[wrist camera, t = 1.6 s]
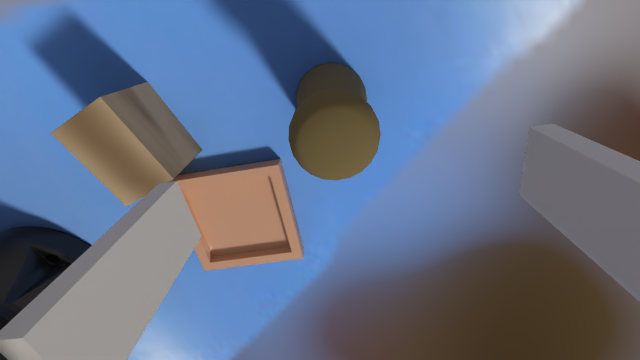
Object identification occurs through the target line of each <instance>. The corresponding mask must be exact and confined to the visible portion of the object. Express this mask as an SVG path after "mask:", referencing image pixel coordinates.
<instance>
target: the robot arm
mask: <svg viewBox="0 0 640 360" xmlns="http://www.w3.org/2000/svg"><path fill="white" fill-rule="evenodd" d="M519 195H520V196H521V197H522V198H523V199H525V200H526V201H527V202H528V203H529V204H530V205H531V206H532V207H534V208H535V209H536V210H537V211H538V212H539V213H540V214H541V215H543V216H544V217H545V218H546V219H547V220H548V221H549V222H551V223H552V224H553V225H554V226H555V227H556V228H557V229H558V230H559V231H561V232H562V233H563V234H564V235H565V236H566V237H567V238H569V239H570V240H571V241H572V242H573V243H574V244H575V245H576V246H577V247H579V248H580V249H581V250H582V251H583V252H584V253H586V254H587V255H588V256H589V257H590V258H591V259H593V261H594V262H596V263H597V264H598V265H599V266H600V267H601V268H602V269H604V270H605V271H606V272H607V273H608V274H609V275H610V276H611V277H612V278H614V279H615V280H616V281H617V282H618V283H619V284H620V285H621V286H623V287H624V288H625V289H626V290H627V291H628V292H629V293H631V294H632V295H633V296H634V297H635V298H636V299H637V300H638V301H640V161H638V160H635V159H633V158H631V157H628V156H626V155H624V154H621V153H619V152H617V151H614V150H612V149H610V148H607V147H605V146H603V145H601V144H598V143H596V142H594V141H592V140H589V139H587V138H585V137H582V136H580V135H578V134H576V133H573V132H571V131H569V130H566V129H564V128H562V127H559V126H557V125H555V124H546V125H540V126H533V127H529V132H528V138H527V146H526V152H525V159H524V165H523V172H522V179H521V185H520V192H519ZM200 238H201V234H200V232H199V230H198V227H197V225H196V223H195V221H194V218H193V216H192V214H191V212H190V210H189V207H188V205H187V203H186V201H185V198H184V196H183V194H182V192H181V189H180V187H179V185H178V183H177V181H173V182H166V183H160V184H158V185H157V186H156V187H154V188H153V189H152V190H151V191H150V192H149V193H148V194H147V195H146V196H145V197H144V198H143V199H142V200H140V201H139V202H138V203H137V204H136V205H135V206H134V207H133V208H132V209H131V210H130V211H129V212H128V213H126V214H125V215H124V216H123V217H122V218H121V219H120V220H119V221H118V222H117V223H116V224H115V225H113V226H112V227H111V228H110V229H109V230H108V231H107V232H106V233H105V234H104V235H103V236H102V237H101V238H99V239H98V240H97V241H96V242H95V243H94V244H93V245H92V246H89V245H88V244H86V243H84V242H82V241H80V240H78V239H76V238H74V237H72V236H70V235H67V234H64V233H61V232H58V231H55V230H51V229H46V228H39V227H19V228H13V229H9V230H6V231H4V232H2V233H0V360H127V358H128V357H129V355H130V353H131V352H132V350H133V349H134V347H135V345H136V344H137V342H138V340H139V339H140V337H141V335H142V334H143V332H144V330H145V329H146V327H147V325H148V324H149V322H150V320H151V319H152V317H153V316H154V314H155V312H156V311H157V309H158V307H159V306H160V304H161V302H162V301H163V299H164V297H165V296H166V294H167V292H168V291H169V289H170V287H171V286H172V284H173V282H174V281H175V279H176V278H177V276H178V274H179V273H180V271H181V269H182V268H183V266H184V264H185V263H186V261H187V259H188V258H189V256H190V254H191V253H192V251H193V249H194V248H195V246H196V245H197V243H198V241H199V240H200Z"/></svg>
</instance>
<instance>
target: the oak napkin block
mask: <svg viewBox="0 0 640 360" xmlns="http://www.w3.org/2000/svg"><path fill="white" fill-rule="evenodd" d="M51 134H52V135H53V136H54V137H55V138H56V139H57V140H58V141H60V142H61V143H62V144H63V145H64V146H65V147H66V148H67V149H68V150H69V151H70V152H71V153H72V154H73V155H74V156H75V157H76V158H77V159H78V160H79V161H80V162H81V163H82V164H83V165H84V166H85V167H86V168H87V169H88V170H89V171H90V172H91V173H92V174H93V175H94V176H95V177H96V178H97V179H98V180H99V181H101V182H102V183H103V184H104V185H105V186H106V187H107V188H108V189H109V190H110V191H111V192H112V193H113V194H114V195H115V196H116V197H117V198H118V199H119V200H120V201H121V202H122V203H123V204H124V205H125V206H126V207H127V206H129V205H130V204H132V203H134V202H135V201H137V200H139V199H140V198H142V197H144V196H146V195H147V194H148V193H149V192H150V191H151V190H152V189H153V188H154V187H156V186H157V185H158V184H160V183H166V182H169V181H171V180H173V179H174V178H175V177H176V176H177V175H178V174H179V173H180V172H181V171H182V170H183V169H184V168H185V167H186V166H187V165H188V164H189V163H190V162H191V161H192V160H193V159H194V158H195V157H196V156H197V155H198V154H199V153H200V152H201V151H202V149H201V147H200V146H199V145H198V144H197V142H196V141H195V140H194V139H193V137H192V136H191V135H190V134H189V133H188V131H187V130H186V129H185V128H184V126H183V125H182V124H181V123H180V121H179V120H178V119H177V118H176V116H175V115H174V114H173V113H172V111H171V110H170V109H169V108H168V106H167V105H166V104H165V103H164V101H163V100H162V99H161V98H160V97H159V95H158V94H157V93H156V92H155V90H154V89H153V88H152V87H151V85H150V84H149V83H148V82H145V83H142V84H139V85H136V86H133V87H129V88H126V89H123V90H120V91H117V92H113V93H110V94H107V95H104V96H101V97H99V98H98V99H96V100H95V101H93V102H92V103H91V104H89V105H88V106H87V107H85V108H84V109H83V110H81V111H80V112H79V113H77V114H76V115H74V116H73V117H72V118H70V119H69V120H68V121H66V122H65V123H64V124H62V125H61V126H59V127H58V128H57V129H55V130H54V131H53V132H51Z"/></svg>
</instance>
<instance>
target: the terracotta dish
mask: <svg viewBox="0 0 640 360" xmlns="http://www.w3.org/2000/svg"><path fill="white" fill-rule="evenodd" d="M173 181H177V183H178V185H179V187H180V189H181V192H182V194H183V196H184V198H185V201H186V203H187V205H188V207H189V210H190V212H191V214H192V216H193V218H194V221H195V223H196V225H197V227H198V230H199V232H200V234H201V238H200V240H199V241H198V243H197V245H196V246H195V248H194V249H195V252H196V254H197V256H198V258H199V260H200V262H201V264H202V266H203V268H204V271H207V270H214V269H222V268H230V267H238V266H246V265H254V264H261V263H269V262H277V261H285V260H293V259H301V258H303V254H304V248H303V244H302V240H301V236H300V232H299V228H298V225H297V221H296V217H295V213H294V209H293V205H292V201H291V197H290V193H289V190H288V186H287V182H286V178H285V174H284V170H283V166H282V162H281V159H275V160H269V161H263V162H256V163H250V164H244V165H238V166H231V167H225V168H219V169H213V170H206V171H200V172H194V173H188V174H181V175H177V176H176V177H175V178H174V179H173V180H171V181H169V182H173Z"/></svg>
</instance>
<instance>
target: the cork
mask: <svg viewBox="0 0 640 360" xmlns="http://www.w3.org/2000/svg"><path fill="white" fill-rule="evenodd" d="M296 107H297V109H296V110H295V113H294V115H293V118H292V120H291V123H290V126H289V143H290V146H291V150H292V153H293V156H294V157H295V159H296V160H297V161H298V163H299V164H300V166H301V167H302V168H303V169H305V170H306V171H307V172H309V173H310V174H311V175H314V176H316V177H319V178H321V179H327V180H341V179H346V178H350V177H352V176H354V175H356V174H358V173H360V172H361V171H363V170H364V169H365V168H366V167H367V166H368V165H369V164H370V163H371V161H372V159H373V158H374V156H375V154H376V152H377V150H378V145H379V139H380V128H379V121H378V119H377V117H376V115H375V113H374V111H373V109H372V107H371V106H370V105H369V104H368V103H367V97H366V90H365V86H364V84H363V82H362V80H361V78H360V76H359V75H358V74H356V73H355V72H354V71H353V70H352V69H351V68H349V67H347V66H345V65H343V64H339V63H325V64H321V65H317V66H316V67H314V68H313V69H311V70H310V71H308V72H307V73H306V74H305V76H304V77H303V78H302V79H301V81H300V83H299V86H298V88H297V91H296Z"/></svg>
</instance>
